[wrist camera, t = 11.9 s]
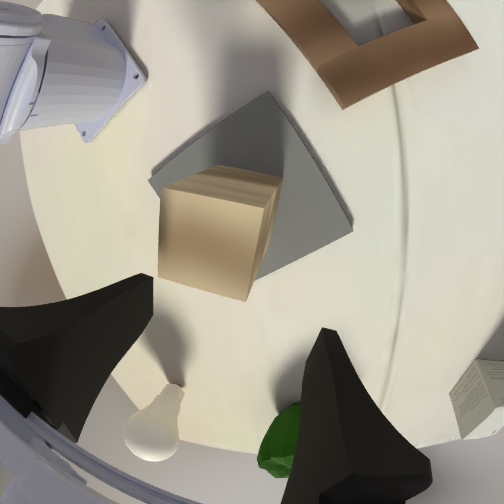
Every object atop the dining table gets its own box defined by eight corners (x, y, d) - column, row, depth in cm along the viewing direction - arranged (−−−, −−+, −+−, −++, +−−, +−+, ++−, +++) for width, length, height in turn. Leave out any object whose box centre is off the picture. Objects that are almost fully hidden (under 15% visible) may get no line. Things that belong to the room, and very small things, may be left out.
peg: (218, 164, 19) (161, 187, 11) (283, 177, 18) (263, 208, 11) (210, 225, 21) (158, 276, 13) (270, 239, 20) (245, 302, 13)
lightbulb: (149, 364, 30) (104, 433, 20) (195, 374, 29) (156, 454, 19) (162, 395, 33) (126, 458, 23) (204, 405, 31) (174, 476, 22)
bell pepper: (311, 437, 31) (303, 501, 22) (257, 417, 30) (239, 486, 22) (353, 409, 27) (354, 485, 18) (294, 385, 27) (280, 469, 18)
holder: (243, -12, 13) (236, -24, 11) (370, -60, 9) (373, -72, 7) (342, 109, 16) (346, 107, 14) (466, 53, 11) (479, 48, 10)
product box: (505, 359, 21) (526, 403, 14) (478, 393, 23) (493, 436, 17) (475, 357, 21) (496, 407, 15) (447, 393, 24) (460, 442, 17)
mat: (151, 178, 21) (147, 180, 20) (269, 92, 16) (267, 91, 16) (229, 289, 23) (227, 293, 23) (352, 228, 19) (353, 231, 19)
